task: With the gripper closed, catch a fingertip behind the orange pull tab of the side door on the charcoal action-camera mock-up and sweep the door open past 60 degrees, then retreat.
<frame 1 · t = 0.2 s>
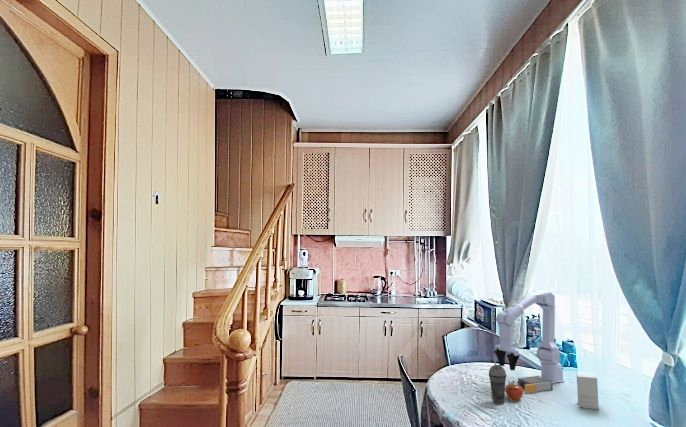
hand: (507, 367, 211), 9 cm above the table, fingers open, 7 cm apart
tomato: (514, 399, 196), on the table
supplement box: (588, 406, 187), on the table
side door: (539, 387, 205), point 2 cm above the table, hinge at 0.0°
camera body: (535, 388, 210), on the table
beverage cup: (498, 403, 192), on the table
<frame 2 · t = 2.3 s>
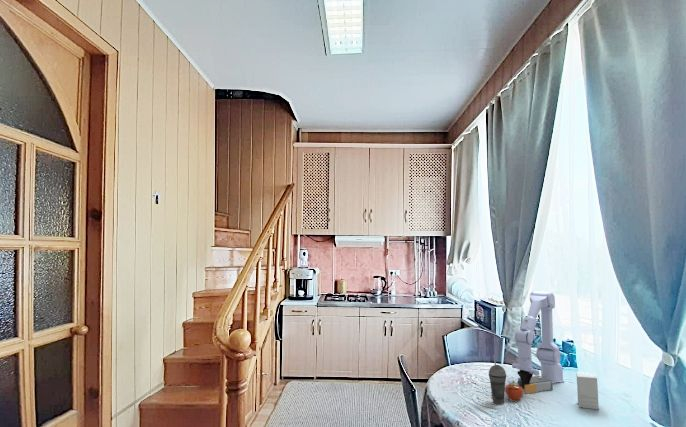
hand: (525, 387, 205), 2 cm above the table, fingers closed
side door: (539, 387, 205), point 2 cm above the table, hinge at 0.0°, touching gripper
everything else where it was.
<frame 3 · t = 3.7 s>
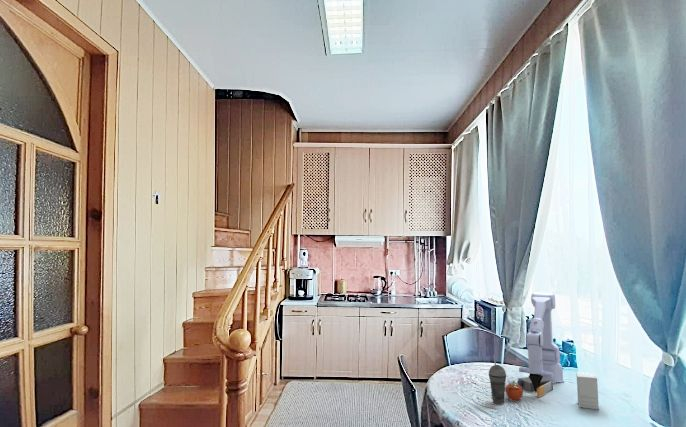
hand: (536, 391, 200), 2 cm above the table, fingers closed
side door: (545, 388, 203), point 2 cm above the table, hinge at 24.8°, touching gripper
everything else where it was.
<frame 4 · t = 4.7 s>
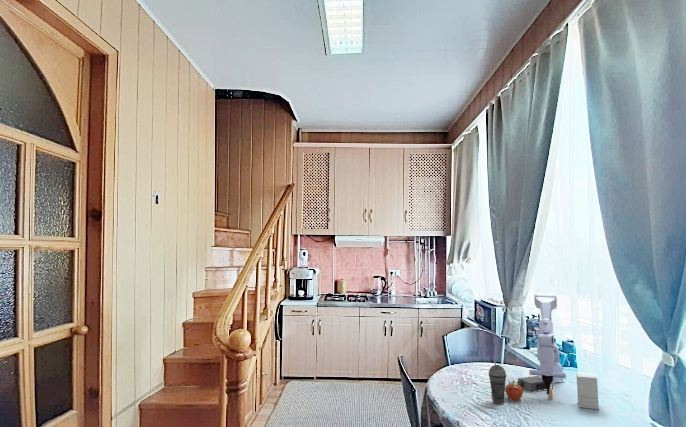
hand: (548, 393, 197), 2 cm above the table, fingers closed
side door: (551, 389, 201), point 2 cm above the table, hinge at 45.6°, touching gripper
everything else where it was.
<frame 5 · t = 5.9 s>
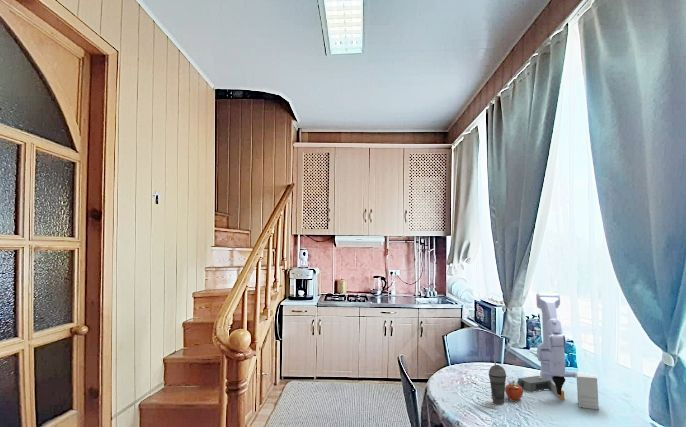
hand: (559, 394, 195), 2 cm above the table, fingers closed
side door: (557, 390, 201), point 2 cm above the table, hinge at 64.8°, touching gripper
everything else where it was.
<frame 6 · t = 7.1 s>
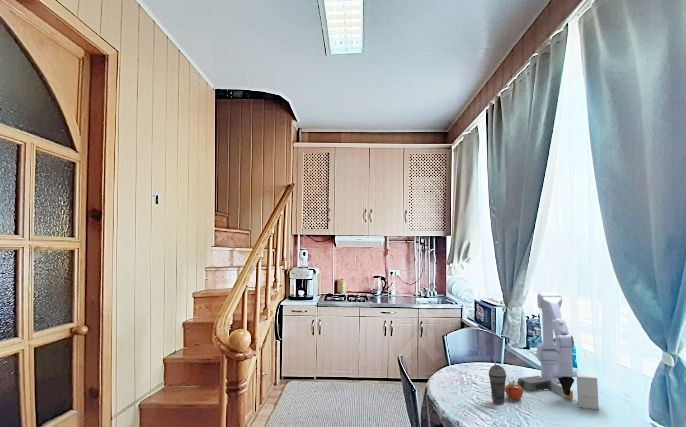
hand: (566, 394, 195), 2 cm above the table, fingers closed
side door: (561, 389, 201), point 2 cm above the table, hinge at 80.0°, touching gripper
everything else where it was.
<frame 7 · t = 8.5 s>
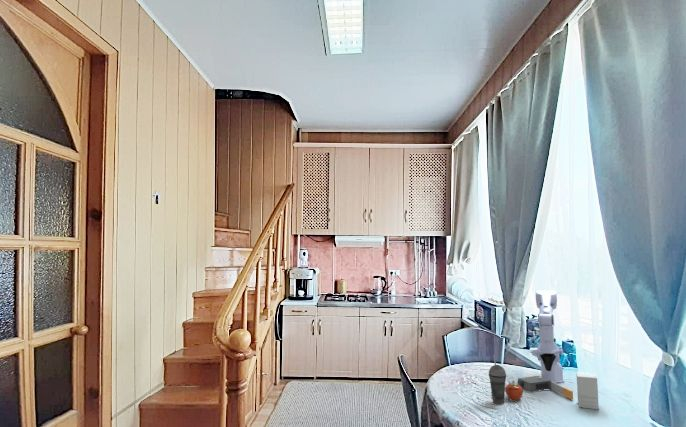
hand: (548, 370, 206), 9 cm above the table, fingers closed
side door: (561, 389, 201), point 2 cm above the table, hinge at 80.1°
everything else where it was.
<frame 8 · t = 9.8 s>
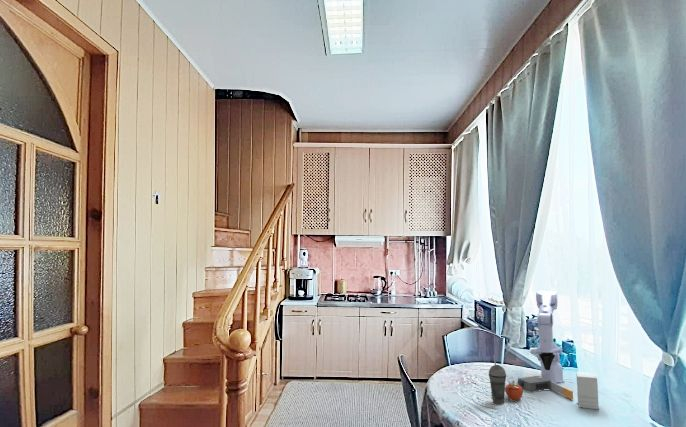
hand: (547, 369, 207), 9 cm above the table, fingers closed
nothing on the table moved.
at the end: side door at +80° (first picture: +0°); supplement box moved 0.3 cm from its start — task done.
